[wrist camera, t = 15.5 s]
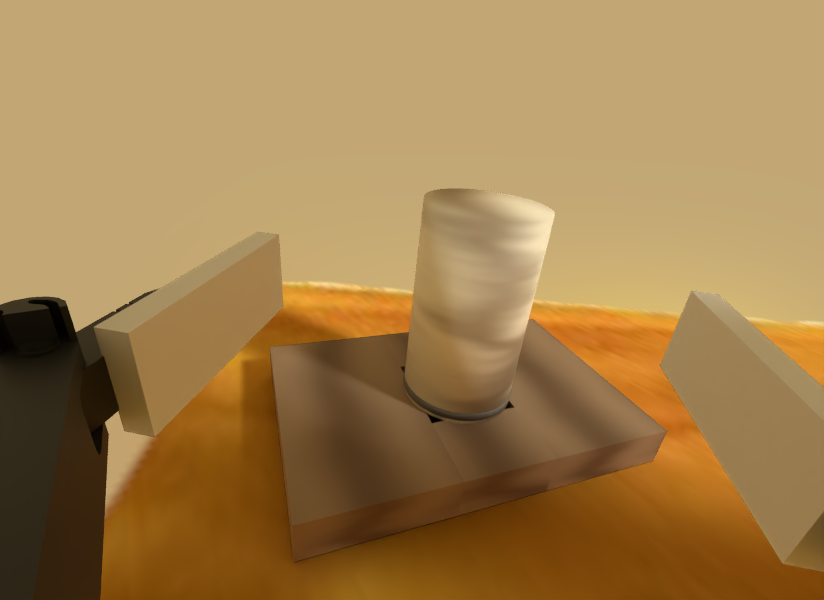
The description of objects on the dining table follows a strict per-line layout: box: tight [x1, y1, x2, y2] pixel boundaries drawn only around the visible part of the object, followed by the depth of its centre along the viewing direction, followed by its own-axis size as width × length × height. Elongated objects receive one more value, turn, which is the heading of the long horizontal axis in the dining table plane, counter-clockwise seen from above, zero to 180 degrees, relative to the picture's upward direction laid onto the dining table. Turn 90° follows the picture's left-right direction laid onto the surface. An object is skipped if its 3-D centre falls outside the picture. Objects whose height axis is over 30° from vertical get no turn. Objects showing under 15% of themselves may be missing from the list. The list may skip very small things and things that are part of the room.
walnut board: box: [270, 319, 667, 562], centre depth 28 cm, size 22×14×2 cm, turn 110°
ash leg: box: [403, 189, 555, 424], centre depth 25 cm, size 7×7×14 cm
